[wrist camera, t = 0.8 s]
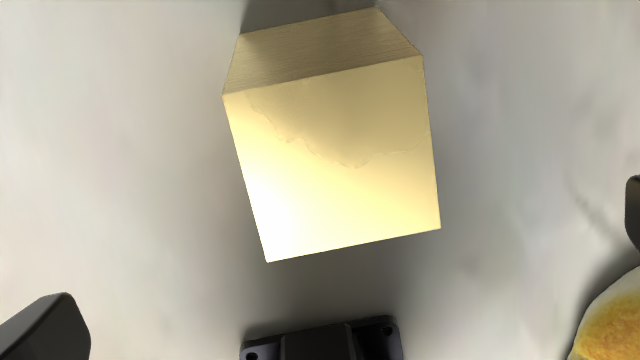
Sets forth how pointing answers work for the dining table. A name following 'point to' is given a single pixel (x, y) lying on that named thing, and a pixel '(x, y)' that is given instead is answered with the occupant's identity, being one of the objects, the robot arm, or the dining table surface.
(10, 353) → the robot arm
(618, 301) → the bread roll
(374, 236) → the brass block
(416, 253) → the dining table surface
